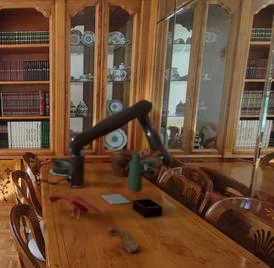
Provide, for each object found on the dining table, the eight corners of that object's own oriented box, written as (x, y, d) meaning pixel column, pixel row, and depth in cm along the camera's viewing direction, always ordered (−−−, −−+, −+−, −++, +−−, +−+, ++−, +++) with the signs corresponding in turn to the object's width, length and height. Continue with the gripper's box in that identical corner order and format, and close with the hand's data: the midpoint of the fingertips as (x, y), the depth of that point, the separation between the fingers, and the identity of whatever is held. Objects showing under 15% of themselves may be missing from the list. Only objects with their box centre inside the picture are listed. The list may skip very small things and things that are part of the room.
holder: (144, 217, 106) (144, 208, 106) (132, 208, 115) (133, 199, 114) (161, 215, 108) (162, 206, 107) (148, 207, 117) (149, 198, 116)
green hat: (79, 168, 180) (75, 177, 161) (58, 177, 187) (52, 186, 168) (70, 151, 180) (65, 157, 161) (49, 160, 187) (42, 168, 168)
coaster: (111, 204, 120) (111, 204, 119) (101, 196, 130) (101, 195, 130) (130, 202, 121) (131, 202, 121) (119, 194, 132) (119, 193, 132)
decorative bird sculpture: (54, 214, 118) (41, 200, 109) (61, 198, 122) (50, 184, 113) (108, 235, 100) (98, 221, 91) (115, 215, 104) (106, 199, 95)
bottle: (132, 192, 112) (134, 155, 109) (125, 187, 118) (127, 152, 115) (143, 191, 113) (146, 154, 111) (136, 186, 119) (138, 152, 116)
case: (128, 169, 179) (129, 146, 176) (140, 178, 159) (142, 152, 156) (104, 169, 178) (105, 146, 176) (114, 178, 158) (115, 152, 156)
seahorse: (119, 229, 97) (119, 225, 96) (142, 252, 82) (142, 247, 82) (107, 231, 96) (107, 227, 95) (128, 255, 81) (128, 250, 81)
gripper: (135, 155, 128) (119, 161, 118) (163, 160, 117) (148, 167, 107) (135, 169, 129) (119, 175, 119) (162, 175, 118) (147, 183, 108)
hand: (133, 171), depth 113 cm, fingers closed on bottle, 6 cm apart
